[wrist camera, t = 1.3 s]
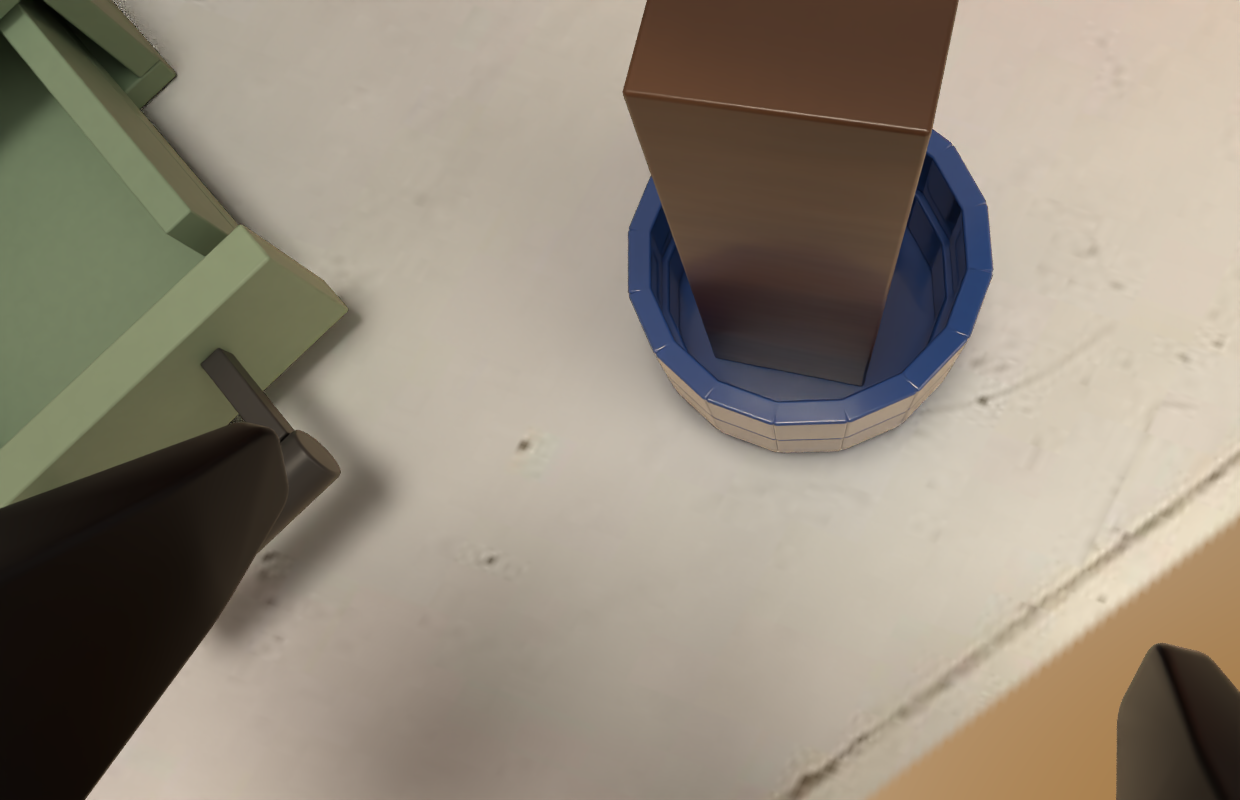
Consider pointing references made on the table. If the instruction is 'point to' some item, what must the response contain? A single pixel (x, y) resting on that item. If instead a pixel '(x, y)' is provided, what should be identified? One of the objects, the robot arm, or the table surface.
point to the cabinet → (113, 45)
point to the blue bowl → (905, 344)
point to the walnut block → (789, 163)
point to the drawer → (128, 285)
